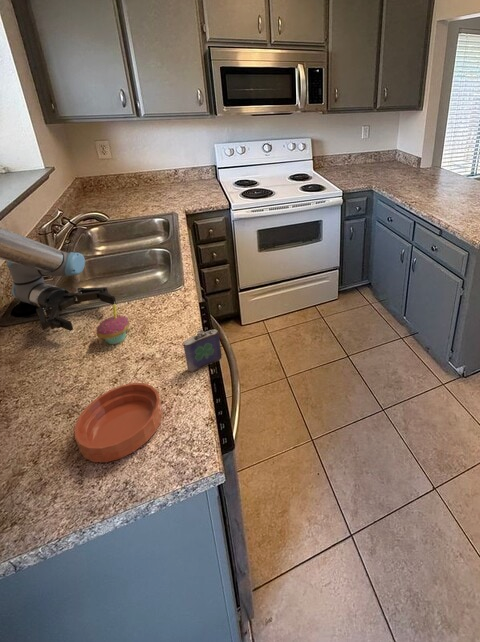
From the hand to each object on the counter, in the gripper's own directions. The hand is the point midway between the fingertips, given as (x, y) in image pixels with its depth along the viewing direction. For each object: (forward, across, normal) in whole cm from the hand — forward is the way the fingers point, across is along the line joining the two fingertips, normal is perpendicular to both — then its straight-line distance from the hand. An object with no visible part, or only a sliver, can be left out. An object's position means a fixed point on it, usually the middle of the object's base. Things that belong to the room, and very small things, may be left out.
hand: (93, 312), depth 107 cm
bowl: (+36, +20, -7) cm, 41 cm away
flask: (+39, -3, -8) cm, 40 cm away
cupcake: (+8, 0, -8) cm, 11 cm away
